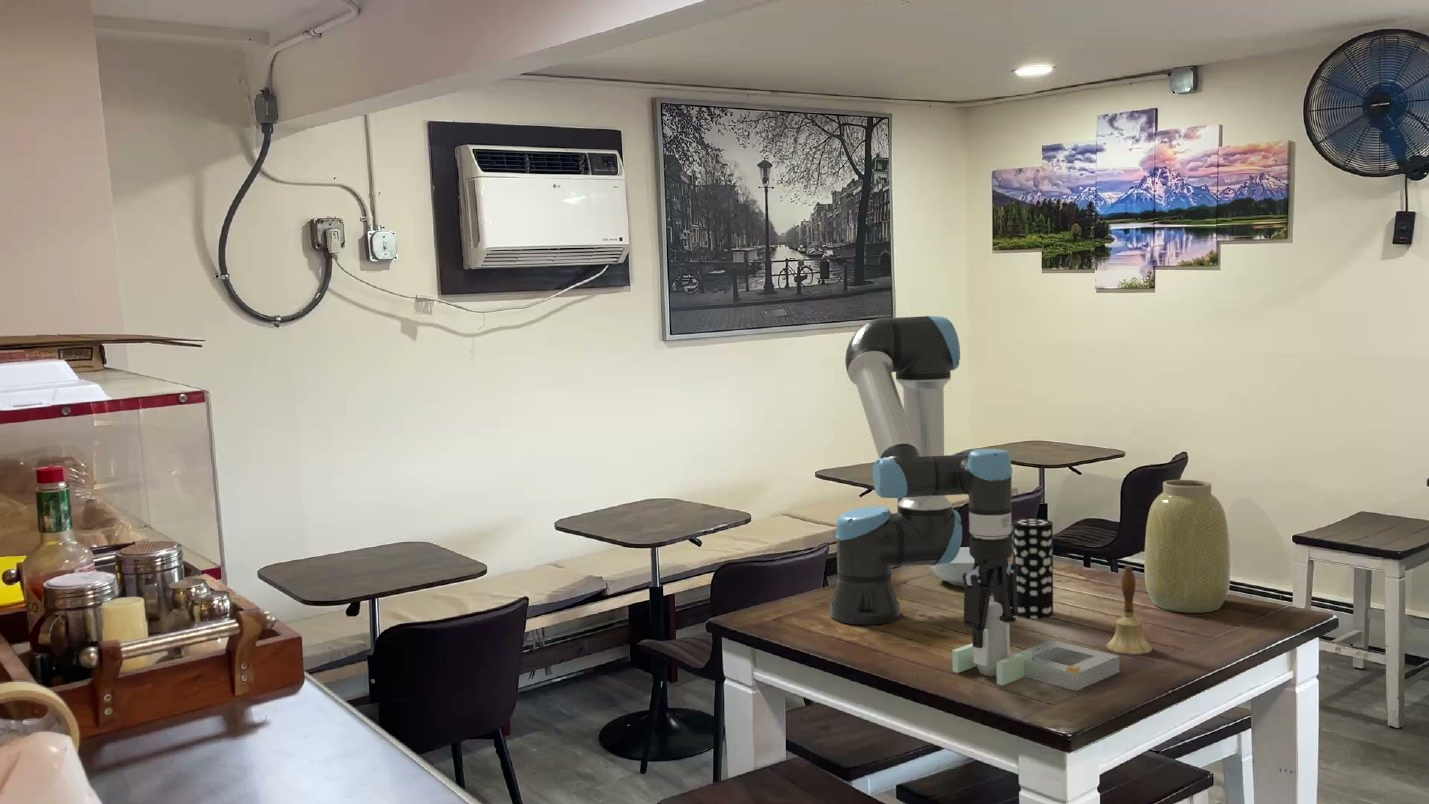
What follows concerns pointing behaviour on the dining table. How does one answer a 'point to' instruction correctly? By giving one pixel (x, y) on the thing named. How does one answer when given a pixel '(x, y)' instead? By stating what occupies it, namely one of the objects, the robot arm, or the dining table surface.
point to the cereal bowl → (956, 567)
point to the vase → (1187, 549)
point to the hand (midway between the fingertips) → (991, 659)
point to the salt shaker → (993, 639)
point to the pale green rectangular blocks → (1006, 668)
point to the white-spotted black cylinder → (1034, 567)
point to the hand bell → (1129, 623)
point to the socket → (1081, 661)
